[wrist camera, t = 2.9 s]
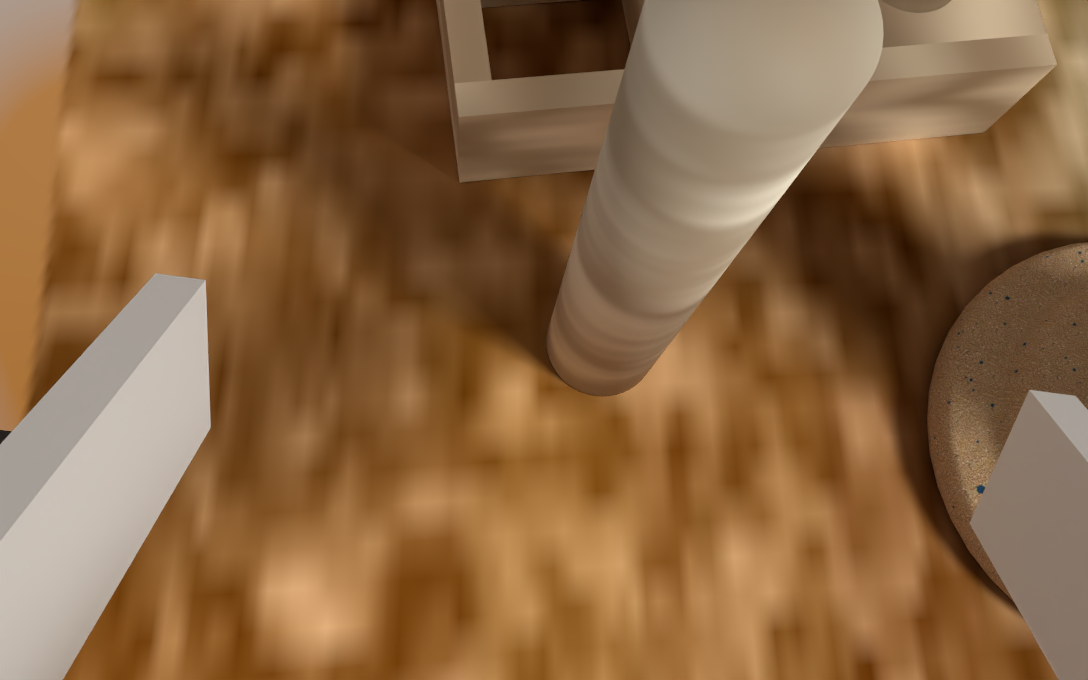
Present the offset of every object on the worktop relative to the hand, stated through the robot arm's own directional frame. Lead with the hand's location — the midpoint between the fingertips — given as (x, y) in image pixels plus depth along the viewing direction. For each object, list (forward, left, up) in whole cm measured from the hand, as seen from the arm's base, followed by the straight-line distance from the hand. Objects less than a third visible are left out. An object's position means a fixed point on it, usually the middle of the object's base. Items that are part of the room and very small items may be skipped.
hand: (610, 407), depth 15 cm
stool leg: (-2, -4, -12) cm, 13 cm away
